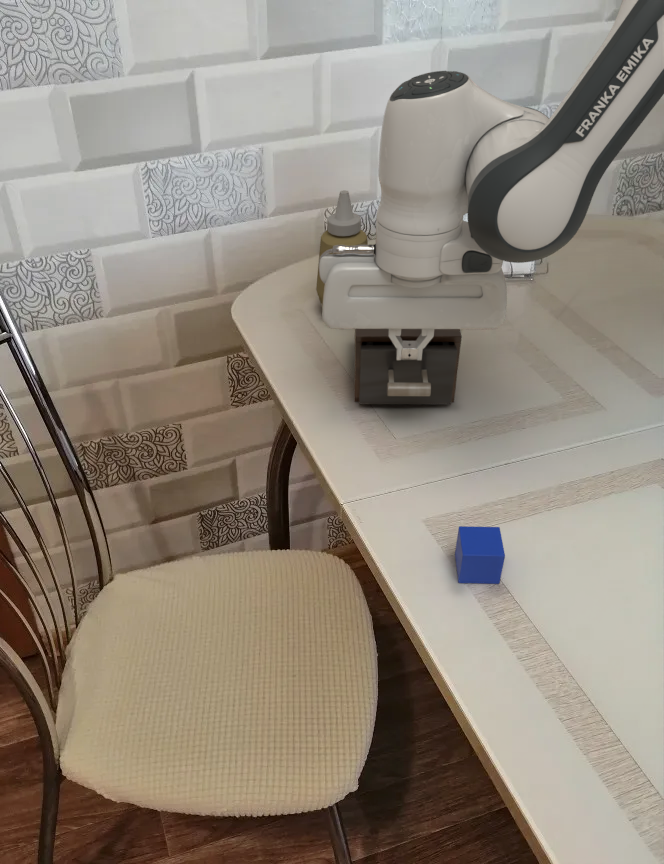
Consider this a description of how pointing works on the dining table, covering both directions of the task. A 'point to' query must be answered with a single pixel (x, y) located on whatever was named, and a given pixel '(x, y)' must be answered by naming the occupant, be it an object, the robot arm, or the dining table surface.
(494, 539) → the block
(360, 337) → the wooden drawer cabinet
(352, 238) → the squeeze bottle
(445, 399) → the dark grey drawer
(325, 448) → the dining table surface
